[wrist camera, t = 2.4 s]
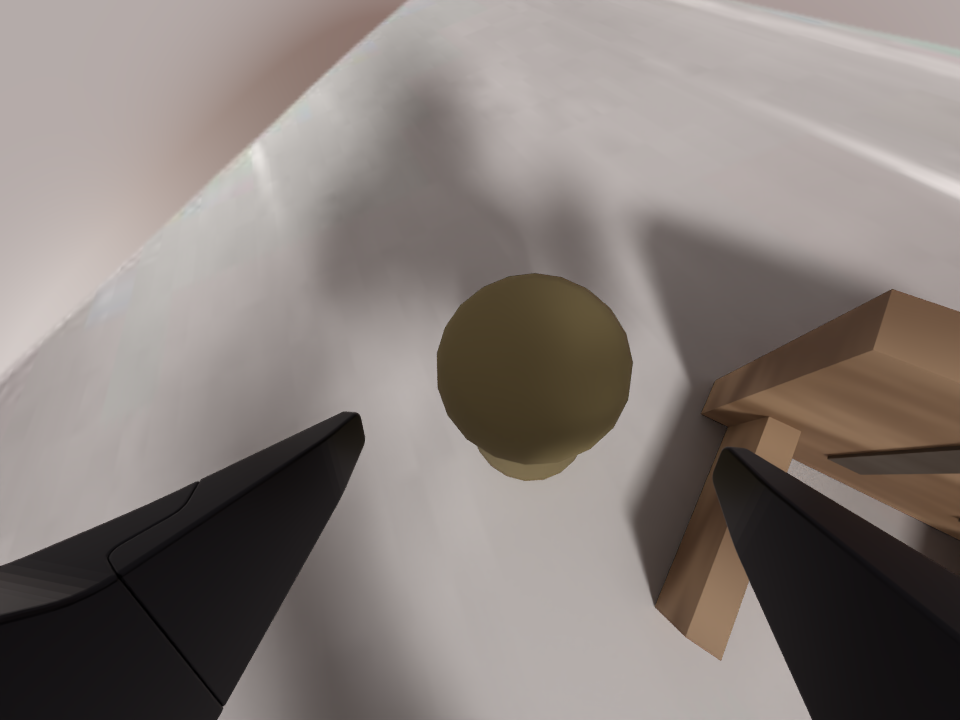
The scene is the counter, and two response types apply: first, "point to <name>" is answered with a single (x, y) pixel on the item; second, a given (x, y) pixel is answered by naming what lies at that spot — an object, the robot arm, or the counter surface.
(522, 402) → the cork
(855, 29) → the counter surface
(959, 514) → the post bracket
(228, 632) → the robot arm
